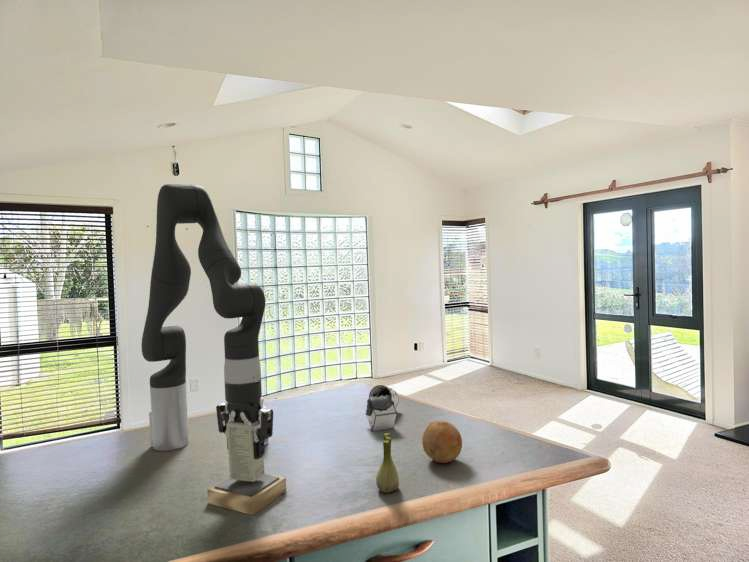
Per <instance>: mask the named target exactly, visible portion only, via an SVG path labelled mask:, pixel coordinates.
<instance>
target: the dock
mask: <svg viewBox="0 0 749 562" xmlns="http://www.w3.org/2000/svg"><path fill="white" fill-rule="evenodd" d="M206 490H207V503H208V504H210V505H213V506H217V507H220V508H221V507H222V508H224V509H228V510H232V511H235V512H239V513H244V514H248V515H251V516H253V515H255V514H256V513H258V512H259V511H260V510H262V509H263V508H265V507H266V506H267V505H269V504H270V503H272V502H273V501H274V499H275V500H276V499H278V498H279V497H280V496H282V495H283V494H285V493H286V492H287V478H286V477H283V476H280V475H275V474H270V473H265V472H264V474H263V475H262V476H261V477H259V478H258V479H257V480H256V481H254V482H252V481H243V480H235V479H230V476H229V477H226V478H224V479H223V480H221V481H219V482H217V483H216V484H214V485H212V486H210V487H209V488H207V489H206ZM285 491H286V492H285ZM284 492H285V493H284ZM282 493H283V494H282ZM281 494H282V495H281ZM278 496H279V497H278ZM277 497H278V498H277Z"/></svg>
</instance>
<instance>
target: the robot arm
mask: <svg viewBox="0 0 749 562" xmlns="http://www.w3.org/2000/svg"><path fill="white" fill-rule="evenodd" d="M156 200H157V202H156V203H157V204H156V226H155V227H156V229H155V235H156V236H155V245H154V246H155V247H154V255H153V261H152V267H151V276H150V285H149V297H148V298H149V299H148V307H147V314H146V317H145V323H144V326H143V327H144V328H143V331H142V336H141V354H142V357H143V359H144V360H145V361H147V362H148V363H149V362H150V363H151V362H152V363H153V362H154V363H155V362H162V361H163V362H164V361H169V363H168V364H167V365H165V366H164V368H162V369H160V370H158V371H156V372H155V373H153V374H151V375H150V378H149V390H150V391H149V393H150V394H149V395H150V412H149V414H148V417H149V418H148V419H149V438H150V440H149V441H150V442H149V443H150V447H152V448H153V450H154V451H158V452H166V451H167V452H169V451H174V450H178V449H181V448H183V447H185V446H187V445H188V444H189V441H190V440H189V422H188V420H189V419H188V399H187V398H188V397H187V381H186V380H187V379H186V376H187V362H186V361H187V359H186V358H187V340H186V339H187V338H186V334H185V333H186V332H185V331H184V328H183V327H182V326H181V325H168V326H163V325H164V323H165V321H166V320H167V319H168V317H169V316H170V315H171V314H172V313H173V311H175V309H177V307H178V306H179V305H181V303H182V302H183V300H184V299H185V298H186V297H187V295H188V292H189V289H190V288H189V287H190V282H191V281H190V280H191V277H192V276H191V274H192V269H191V266H190V265H191V264H190V262H189V261H188V259H187V257H186V256H185V254H184V252H183V251H182V249H181V248H180V246H179V244H178V242H177V239H176V226H177V225H179V224H180V225H181V224H183V225H184V224H198V225H199V226H200V227H201V229H202V235H201V237H200V241H199V244H198V248H197V255H198V256H197V257H198V260H199V263H200V265H201V268H202V269H203V271H204V273H205V275H206V276H207V278H208V280H209V286H210V290H211V296H212V305H213V308H214V311H215V312H216V313H217V315H219V316H220V317H222V318H224V319H229V320H230V319H239V318H241V320H240V322H239V324H238V326H236V327H234V328H231V329H230V330H227V331H226V332H225V333H224V337H223V343H224V345H223V346H224V347H223V348H224V363H223V364H224V365H223V366H224V367H223V372H224V373H223V374H224V375H223V377H224V379H223V380H224V399H225V402H223V403H221V404H218V405H216V407H215V410H216V418H217V428H218V429H217V430H218V432H219V433H220V434H222V433H223V434H224V435H225V437H226V438H227V426H226V423H228V422H231V423H233V422H239V423H245V425H252V423H254V422H256V421H258V422H259V423H258V425H257V426H251V431H252V433H253V439H254V441H255V442H253V445H254V459H259V458H261V457H263V458H264V456H265V449H266V448H265V446H264V440H266V439H267V438H268V439H269V438H271V437H273V433H274V432H273V431H274V430H273V428H274V426H273V425H274V410H273V409H271V408H269V409H267V410H264V409H262V407H261V405H260V399H261V397H263V396H262V395H263V394H262V393H263V391H262V369H261V361H260V347H259V335H260V331H261V326H262V322H263V317H264V313H265V309H266V296H265V292H264V290H263V288H262V287H261V286H260V285H259V284H257V283H237V282H239V280H240V279H241V276H242V269H241V267H240V265H239V263H238V261H237V260H236V258H235V256H234V255H233V253H232V250H231V249H230V247H229V245H228V244H227V241H226V239H225V237H224V234H223V231H222V228H221V225H220V223H219V219H218V215H217V214H216V210H215V208H214V206H213V205H214V204H213V202H212V200H211V198H210V195H209V194H208V192H207V190H206V189H205V188H204V187H203V186H202V185H196V184H181V183H180V184H178V183H176V184H175V183H168V184H163V185H162V186H161V187H160V189H159V191H158V194H157V199H156ZM259 416H260V417H259ZM257 429H258V433H259V435H258V433H257V431H256V430H257ZM226 447H227V448H226V450H228V440H227V439H226Z"/></svg>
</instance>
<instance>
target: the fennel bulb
mask: <svg viewBox="0 0 749 562" xmlns="http://www.w3.org/2000/svg"><path fill="white" fill-rule="evenodd" d="M382 446H383V458H382V459H383V460H382V461H381V464H380V466H379V468H378V471H377V474H376V477H375V482H376V486H377V489H379V491H380V492H381V493H385V494H387V493H388V494H389V493H391V492H394V491H396V490H398V488H399V487H400V482H399V481H400V480H399V479H400V478H399V474H398V470H397V468H396V465H395V463H394V461H393V457H392V437H391V433H390V432H386V433H384V434H383V443H382Z"/></svg>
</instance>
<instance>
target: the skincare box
mask: <svg viewBox="0 0 749 562" xmlns="http://www.w3.org/2000/svg"><path fill="white" fill-rule="evenodd" d="M258 423H259V422H258V421H256V422H254V423H252V425H245V423H239V422H233V423H231V422H228V423H226V426H227V437H226V441H227V440H228V449H227V451H228V465H229V466H228V468H229V477H230V479H235V480H243V481H252V482H254V481H256V480H257V479H258V478H259V477H261V476H262V475H263V474H264V473H265V461H264V456H263V457H261V458H259V459H254V445H253V442H255V441H254V439H253V433H252V431H251V426H257V425H258ZM256 431H257V433H258V429H257V430H256ZM258 435H259V433H258Z"/></svg>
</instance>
